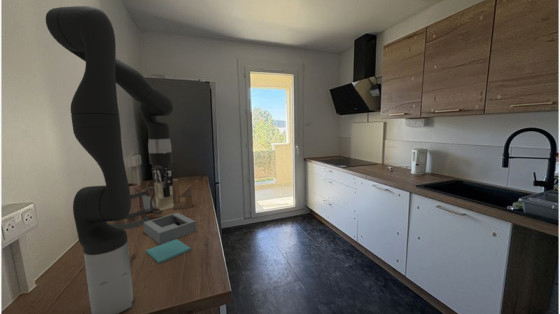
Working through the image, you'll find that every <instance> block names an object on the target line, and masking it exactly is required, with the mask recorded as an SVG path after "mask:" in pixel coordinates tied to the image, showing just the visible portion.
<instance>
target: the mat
mask: <svg viewBox="0 0 560 314" xmlns="http://www.w3.org/2000/svg"><path fill="white" fill-rule="evenodd" d="M191 250H192V248H191V247H190V246H188V245H187V244H185V243H183V242H182V241H180V240H179V239H178V238H177V239H174V240H172V241H169V242H166V243H163V244H161V245H160V244H158V245H157V246H155V247H151V248H148V249H146V250H145V252H146V254H147V255H148V256H149V257H151V258H152V259H153V260H154V261H156V263H157V264H162V263H164V262H166V261H168V260H171V259H174V258H176V257H179V256H180V255H182V254H184V253H187V252H189V251H191Z"/></svg>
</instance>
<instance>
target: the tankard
mask: <svg viewBox="0 0 560 314" xmlns="http://www.w3.org/2000/svg"><path fill="white" fill-rule="evenodd" d="M128 184H129V190H130V196H131V208H130V212H129V214H128V216H127V217H126V218H125V219H123V220H119V221H113V224H112V226H114V227H117V228H121V229H123V230H125V231H126V230H131V229H135V228H138V227H142V226H144V223H143V222H146V221H150V220H151V218H150V217H149V216H148V215H146V213H145V209H144V206H143V199H142V194H143V193H145V194H146V195H147V196H150V197H151V199H150V207H151V210H152V211H151V212H152V214H155V215H161V214H162V213H163V211H164V210H160V209H158V208H156V210H157V211H156V210H155V208H154V209H153V207H152V200H153V199H154V197H155V187H153V186H148V187H147V189H146V190H145V191H144V192H142V191H141V190H142V189H141V185H140V183H134V182H132V183H129V182H128ZM148 190H152V191H153V193H152V195H150V194H149V193H150V191H148Z"/></svg>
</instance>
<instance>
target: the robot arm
mask: <svg viewBox="0 0 560 314" xmlns="http://www.w3.org/2000/svg"><path fill="white" fill-rule="evenodd" d="M45 25H46V27H47V28H46V29H47V30H48V32H49V33H50V35H51V37H52V38H53V39H54V40H55V41H56V42H57V43H58V44H60V45H61V47H63V48H64V49H66V50H67V51H69V52H70V53H71V54H73V55H75V56H76V57H77V58H80V59H81V60H83V62H85V69H84V73H83V76H82V78H81V80H80V83H79V84H78V87H77V89H76V90H75V92H74V95H73V97H72V99H71V104H70V116H71V125H72V131H73V134H74V137H75V139H76V141H77V142H78V143H79V144H80V146H81V147H82V148H83V149H84V150H85V152H87V154H89V156H91V157H92V159H94V161H95V162H96V164H97V165H98V166H99V168H100V169H101V172H102V175H103V178H104V183H105V185H91V186H84V187H82V188H80V189H79V190H78V191H77V192H76V194H75V196H74V197H73V198H74V199H73V201H72V213H73V218H74V223H75V227H76V233H77V238H78V242H79V244H80V245H81V246H82V250H83V251H82V252H83V256H84V265H85V266H84V267H85V273H86V282H87V289H88V297H89V298H88V299H89V306H90V313H91V314H121V313H122V312H124V311H126V310H128V309H130V308H131V307H132V306H133V305H132V303H133V301H134V292H133V291H134V288H133V279H132V271H131V263H130V262H131V261H130V253H129V240H128V234H127V231H126V229H125V230H123V229H121V228H117V227H114V226H112V225H113V224H112V225H111V224H109V223H108V222H115V221H119V220H123V219H125V218H126V217H127V216H128V214H129V212H130V208H131V196H130V190H129V184H128V183H129V180H128V176H127V171H126V166H125V162H124V159H125V158H124V153H123V145H122V144H123V143H122V142H123V141H122V131H121V130H122V129H121V119H120V117H121V116H120V111H119V105H118V104H119V103H118V93H117V85H118V86H119V87H120V88H122V89H123V90H124V91H125V92H126V93H127V94H128V95H129V96H130V97H132V99H134V100H135V101H136V102H139V107H140V111H141V115H142V117H143V120H144V122H145V125H146V128H147V137H148V145H147V147H148V154H149V155H148V157H149V159H148V160H149V164H150V165H152V166H154V167H153V168H152V167H151V172H152V173H151V174H152V178H153V183H154V182H159V181H160V182H162V186H163V197H165V198H166V197H170V186H172V185H173V179H174V170H170V168H169V164H172V163H173V153H172V142H171V134H170V126H169V124H167V123H166V122H160V121H159V120H158V118H157V117H167V116H170V115H171V114H172V113H173V111H174V104H173V102H172V100H171V99H170V98H169V96H167V95H166V94H165V93H164V92H162V91H160V90H159V89H157V88H155V87H154V86H153V85H152V84H151V83H150V82H149V81H148V80H147V79H146V77H144V76H143V74H142V73H141V72H140V71H138V70H137V69H135V68H134V67H132V66H131V65H129V64H127V63H125V62H124V61H121V60H119V59H117V57H116V49H117V48H116V44H117V43H116V35H115V30H114V27H113V24H112V22H111V20H110V18H109V16H108V15H107V14H106V13H105V12H104V11H103V10H102V9H101V8H98V7H96V6H90V5H82V6H81V5H77V6H61V7H54V8H51V9H50V10H48V11H47V12H46V15H45ZM164 181H165V183H164Z"/></svg>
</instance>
